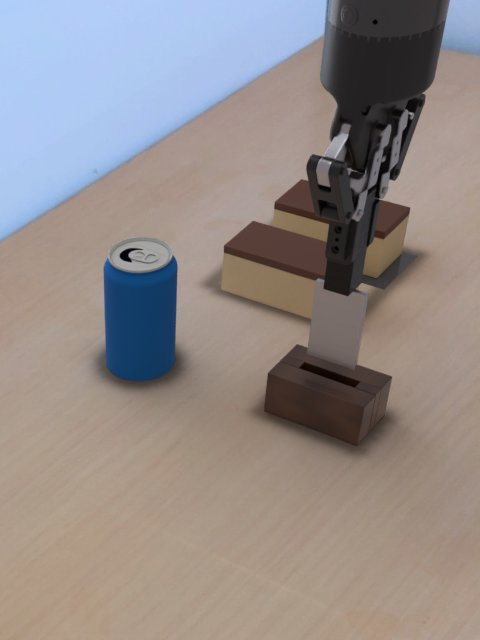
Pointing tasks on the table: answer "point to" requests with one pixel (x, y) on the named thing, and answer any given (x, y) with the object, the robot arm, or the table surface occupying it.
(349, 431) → the knife block
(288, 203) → the block
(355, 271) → the knife
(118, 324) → the beverage can
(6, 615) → the table surface
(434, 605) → the table surface
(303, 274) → the cake slice
